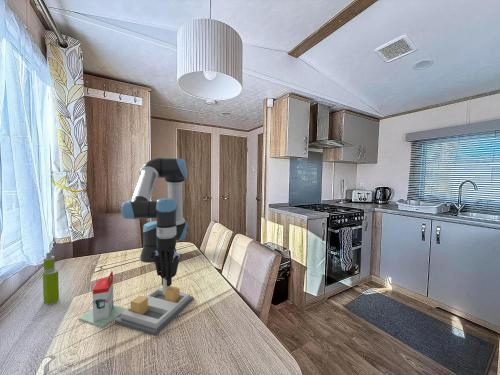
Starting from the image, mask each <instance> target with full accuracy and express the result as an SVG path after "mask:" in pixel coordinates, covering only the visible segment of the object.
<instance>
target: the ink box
mask: <svg viewBox="0 0 500 375" xmlns="http://www.w3.org/2000/svg"><path fill="white" fill-rule="evenodd" d="M113 273H114V272H113V270H111V271H110V273H109V275H108V277H105V278H100V279H98V280H97V282H96V284H95V286H94V287H93V289H92V310H93V322H94V321H99V320H103V319H108V318H109V316H110V313H111V311H112V308H113V305H114V274H113Z"/></svg>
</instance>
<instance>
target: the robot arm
mask: <svg viewBox="0 0 500 375" xmlns="http://www.w3.org/2000/svg"><path fill="white" fill-rule="evenodd" d="M186 163H187V162H186V161H185V160H184V158H176V157H175V158H171V157H167V158H166V157H165V158H163V157H157V158H153V159H150V160H148V161H147V162H145V163H144V164H143V165H142V166H141V168H140V170H139V178H138V180H137V184H136V187H135V189H134V192H133V195H132V196H131V200H128V201H124V202H123V203H122V205H121V210H120V211H121V216H122V218H123V219H124V220H125V219H126V220H127V219H128V220H141V219H156V220H154V221H153V220H151V221H149V222H146V223H144V224H143V226H142V228H143V229H142V237H143V238H142V241H143V243H142V246H143V247H142V251H141V253H140V257H139V258H140V259H139V260H140V262H145V263H152V262H153V263H154V264H155V265H154V266H155V270H156V275H157V276H159V277H160V278H161V285H162V288H163V294H164V295H165V291H166V290H167V289H168V288H170V287H171V285H172V284H173V283H172V282H173V280H172V279H173V278H174V277H175V276H176V275H177V273H178V268H179V263H180V259H181V257H182V254H181V253H178V252H177V249H176V245H177V241H182V240H185V239H186V236H187V232H188V231H187V230H188V222H187V221H186V219H185V218H184V215H183V214H184V213H183V208H184V207H183V202H184V201H183V200H184V199H183V184H184V182H185V181H186V179H187V178H188V170H187V169H188V168H187V165H186ZM159 178H161V179H164V182H166V183H167V198H166V197H162V198H158V199H157V200H152V201H151V198H152V194H153V190H154V186H155V182H156V180H157V179H159Z"/></svg>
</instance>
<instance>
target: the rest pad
mask: <svg viewBox="0 0 500 375" xmlns="http://www.w3.org/2000/svg"><path fill="white" fill-rule="evenodd" d="M126 309H127V308H126V307H123V306H118V305H116V304H113V308H112V311H111V313H110V316H109V318H108V319H103V320H99V321H94V322H93V309H91V311H88V312H87V313H85V314H83V315H82V316H80V317H78V320H79V321H81V322H84V323H88V324H90V325H93V326H96V327H99V328H104V327H106V326H108V325H109V324H110V323H112V322H113V321H115V320H116V319H117V318H119V317H120V316H121V313H122V312H123V311H125V310H126Z"/></svg>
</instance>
